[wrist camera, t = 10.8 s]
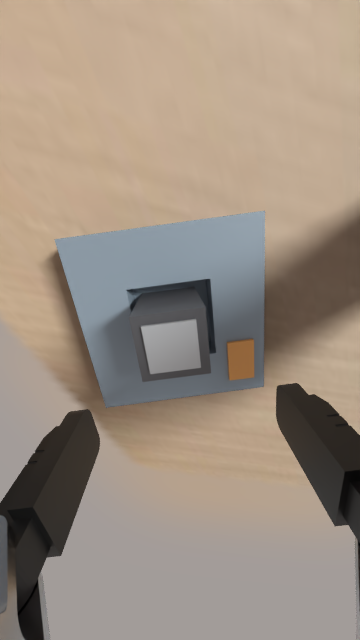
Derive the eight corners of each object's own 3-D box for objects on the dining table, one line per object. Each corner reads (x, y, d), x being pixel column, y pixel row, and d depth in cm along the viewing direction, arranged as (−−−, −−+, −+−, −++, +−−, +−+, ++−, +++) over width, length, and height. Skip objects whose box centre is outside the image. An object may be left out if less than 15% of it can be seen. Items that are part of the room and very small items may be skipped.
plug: (194, 286, 20) (205, 308, 14) (199, 334, 22) (211, 374, 15) (142, 293, 20) (128, 318, 14) (150, 340, 22) (142, 383, 15)
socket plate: (250, 215, 19) (266, 210, 16) (253, 370, 24) (265, 388, 21) (71, 239, 19) (52, 239, 16) (113, 388, 25) (105, 409, 21)
